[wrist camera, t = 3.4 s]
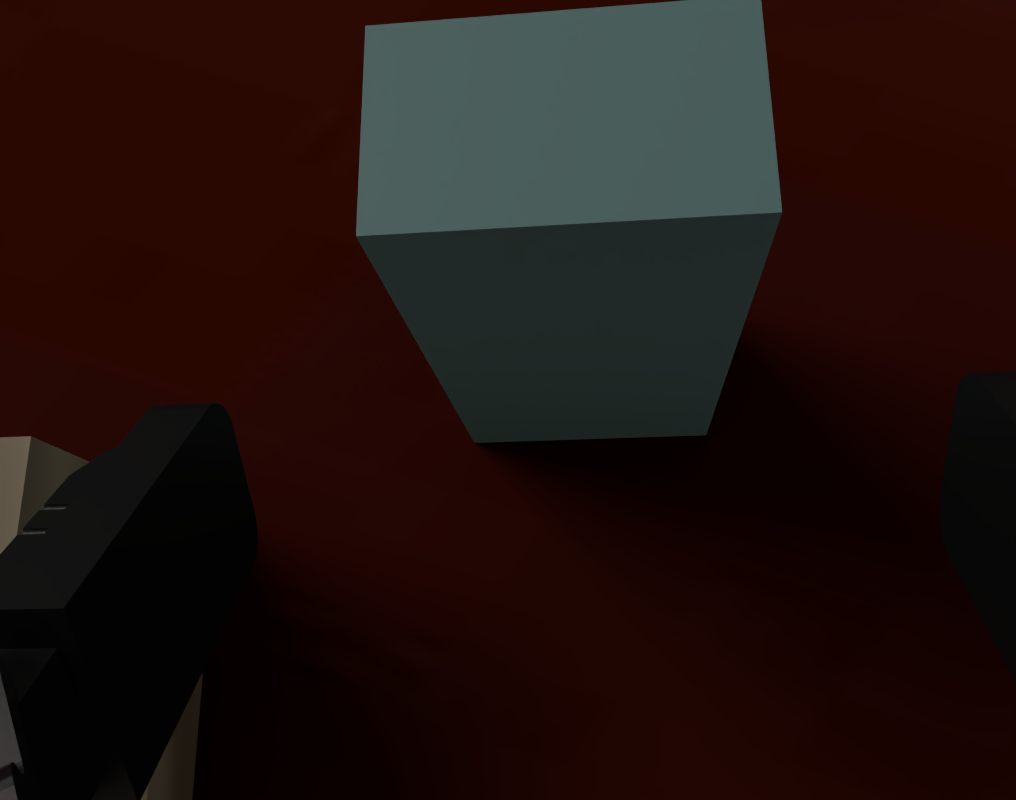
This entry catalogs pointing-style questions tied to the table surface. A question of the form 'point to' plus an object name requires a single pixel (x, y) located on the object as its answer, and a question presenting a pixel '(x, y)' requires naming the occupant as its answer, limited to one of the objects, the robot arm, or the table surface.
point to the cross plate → (572, 209)
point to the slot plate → (3, 514)
